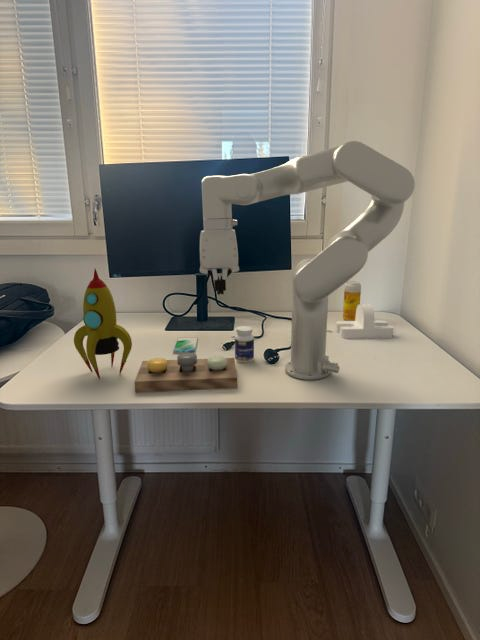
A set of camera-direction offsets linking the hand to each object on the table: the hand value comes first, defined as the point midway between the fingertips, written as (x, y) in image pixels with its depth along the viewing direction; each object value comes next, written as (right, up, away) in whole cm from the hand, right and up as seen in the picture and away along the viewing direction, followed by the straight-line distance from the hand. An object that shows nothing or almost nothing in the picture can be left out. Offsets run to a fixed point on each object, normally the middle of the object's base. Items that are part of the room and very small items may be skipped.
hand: (220, 293), depth 120 cm
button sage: (-1, -22, -1) cm, 23 cm away
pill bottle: (+7, -20, +12) cm, 24 cm away
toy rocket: (-33, -22, +4) cm, 40 cm away
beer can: (+49, -8, +51) cm, 71 cm away
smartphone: (-12, -16, +25) cm, 32 cm away
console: (-9, -23, -1) cm, 25 cm away
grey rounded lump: (-9, -22, -2) cm, 23 cm away
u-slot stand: (+49, -13, +35) cm, 62 cm away
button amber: (-17, -23, -2) cm, 28 cm away
